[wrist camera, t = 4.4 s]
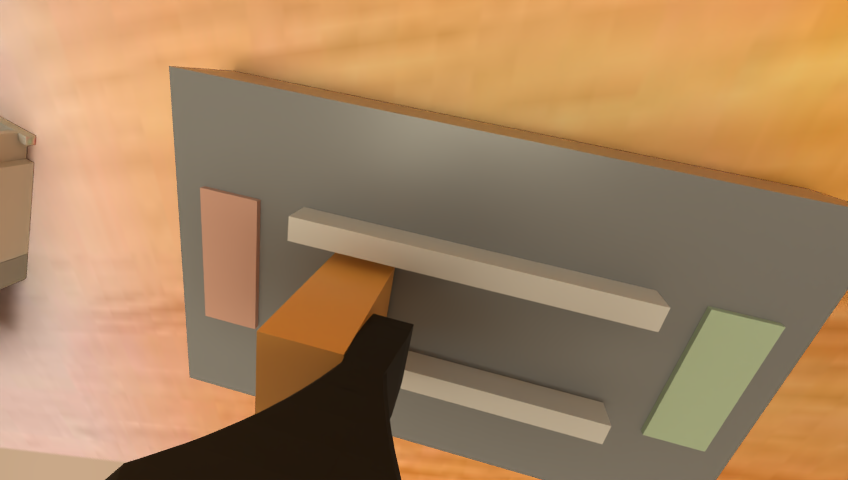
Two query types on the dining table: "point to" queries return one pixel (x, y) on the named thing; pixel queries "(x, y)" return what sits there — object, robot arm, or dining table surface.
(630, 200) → the slider control box
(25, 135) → the circuit breaker
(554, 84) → the dining table surface
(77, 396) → the dining table surface
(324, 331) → the breaker lever
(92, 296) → the dining table surface
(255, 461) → the robot arm
